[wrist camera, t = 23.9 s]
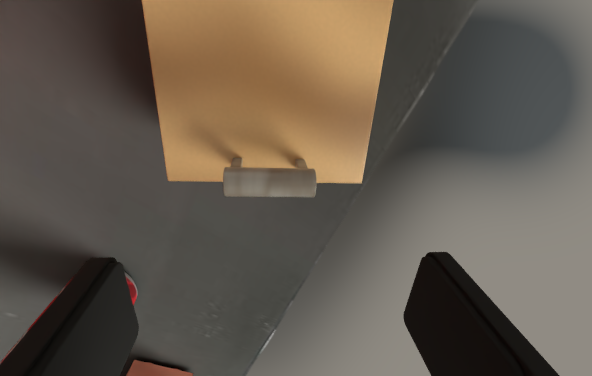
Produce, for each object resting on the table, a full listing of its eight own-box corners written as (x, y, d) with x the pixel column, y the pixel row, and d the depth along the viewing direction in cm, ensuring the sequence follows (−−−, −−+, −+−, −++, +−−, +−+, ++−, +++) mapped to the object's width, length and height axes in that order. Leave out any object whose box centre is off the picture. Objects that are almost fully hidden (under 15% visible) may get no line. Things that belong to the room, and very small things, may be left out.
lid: (358, 179, 23) (383, 211, 18) (170, 177, 21) (144, 212, 17) (391, -12, 17) (437, -36, 13) (140, -37, 16) (89, -75, 11)
